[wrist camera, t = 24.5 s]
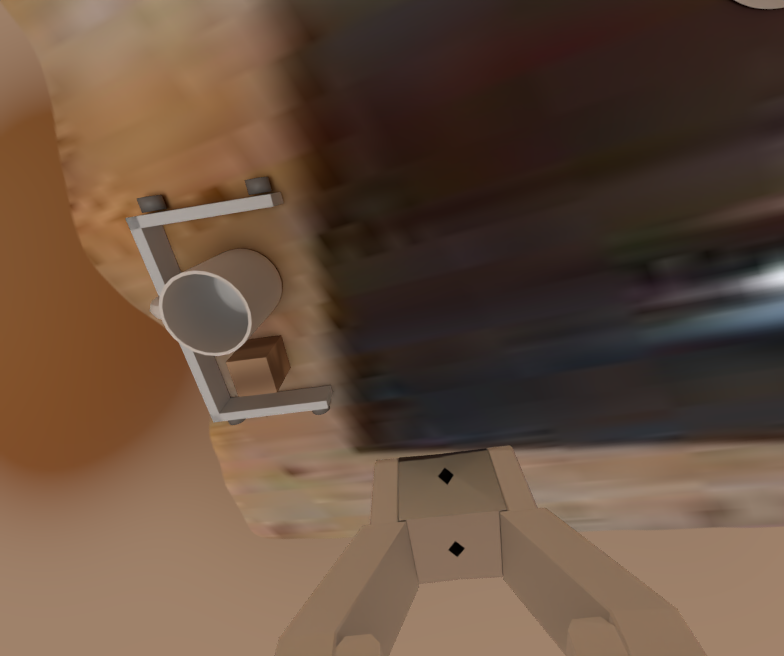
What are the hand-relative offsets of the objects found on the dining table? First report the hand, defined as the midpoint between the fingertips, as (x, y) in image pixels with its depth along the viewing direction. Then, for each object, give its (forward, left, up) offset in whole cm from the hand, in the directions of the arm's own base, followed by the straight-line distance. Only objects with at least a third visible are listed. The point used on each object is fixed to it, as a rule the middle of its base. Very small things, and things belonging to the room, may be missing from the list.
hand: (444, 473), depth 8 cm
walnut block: (+10, -17, -29) cm, 35 cm away
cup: (+2, -18, -29) cm, 34 cm away
